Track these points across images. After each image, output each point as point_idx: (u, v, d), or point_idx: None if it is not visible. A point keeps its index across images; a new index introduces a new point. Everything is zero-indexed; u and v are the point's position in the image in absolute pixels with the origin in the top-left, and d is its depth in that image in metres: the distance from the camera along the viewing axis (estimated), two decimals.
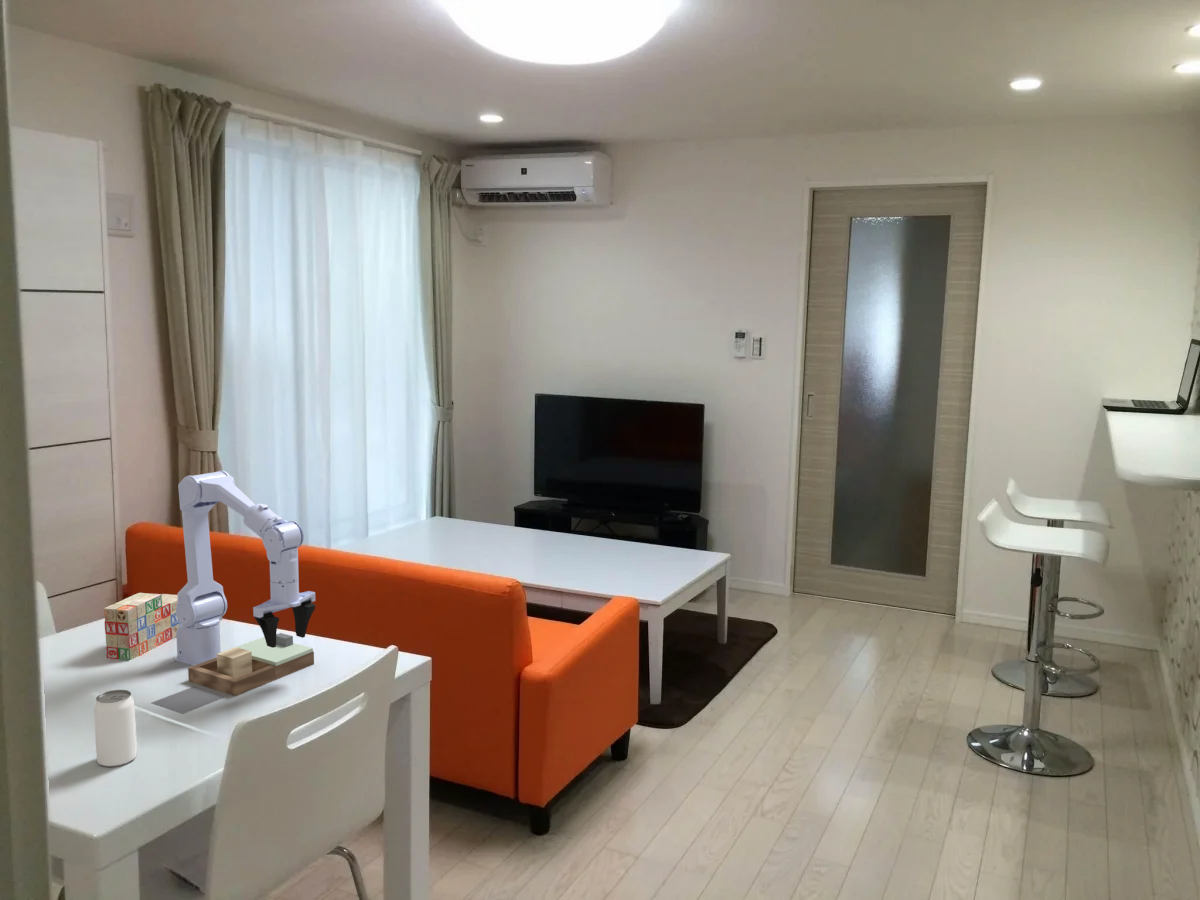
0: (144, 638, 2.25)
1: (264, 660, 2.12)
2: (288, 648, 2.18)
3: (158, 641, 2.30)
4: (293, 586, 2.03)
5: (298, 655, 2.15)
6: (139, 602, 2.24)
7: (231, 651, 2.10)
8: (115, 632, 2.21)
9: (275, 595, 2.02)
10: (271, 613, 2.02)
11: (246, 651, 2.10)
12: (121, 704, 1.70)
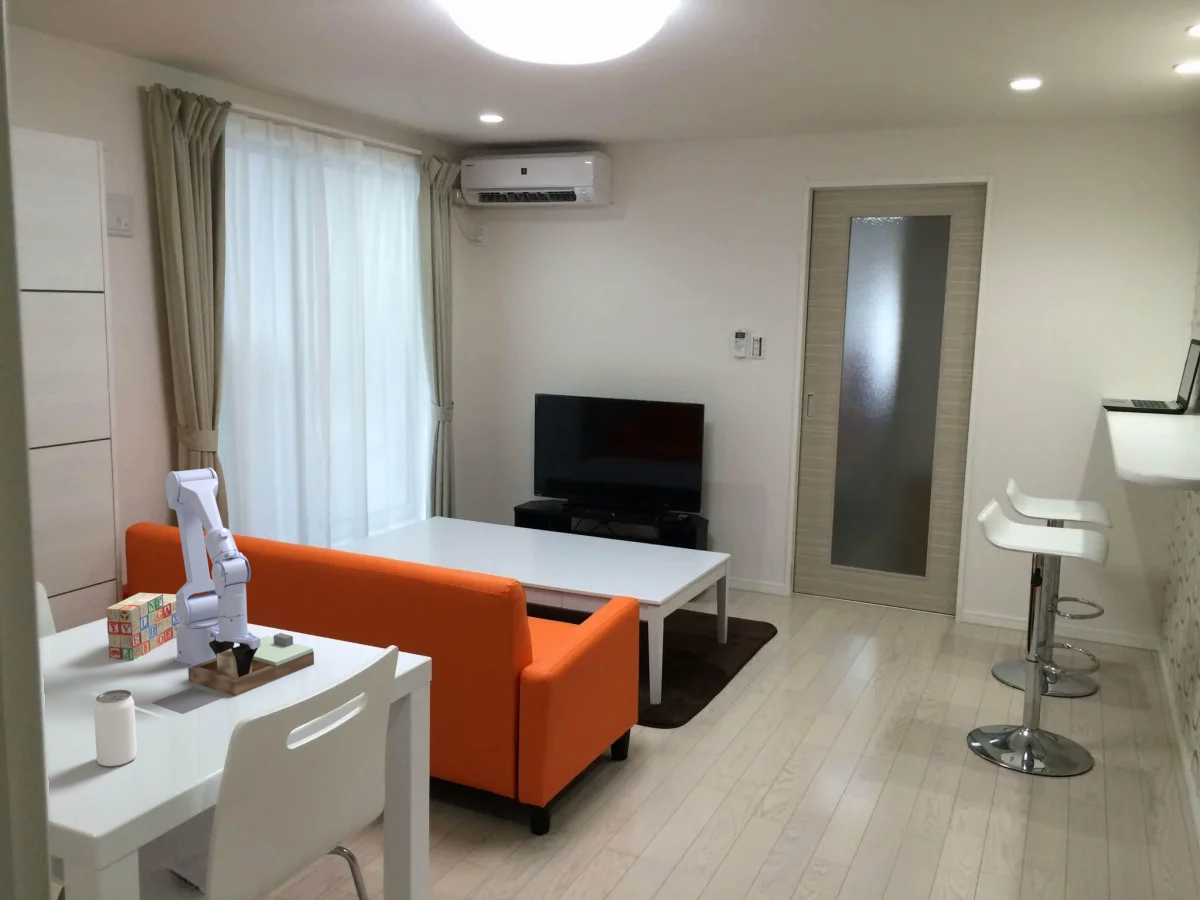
0: (147, 638, 2.26)
1: (264, 660, 2.12)
2: (288, 648, 2.18)
3: (160, 641, 2.31)
4: (221, 621, 2.05)
5: (298, 655, 2.15)
6: (141, 602, 2.24)
7: (231, 651, 2.10)
8: (118, 632, 2.21)
9: None
10: None
11: None
12: (121, 704, 1.70)
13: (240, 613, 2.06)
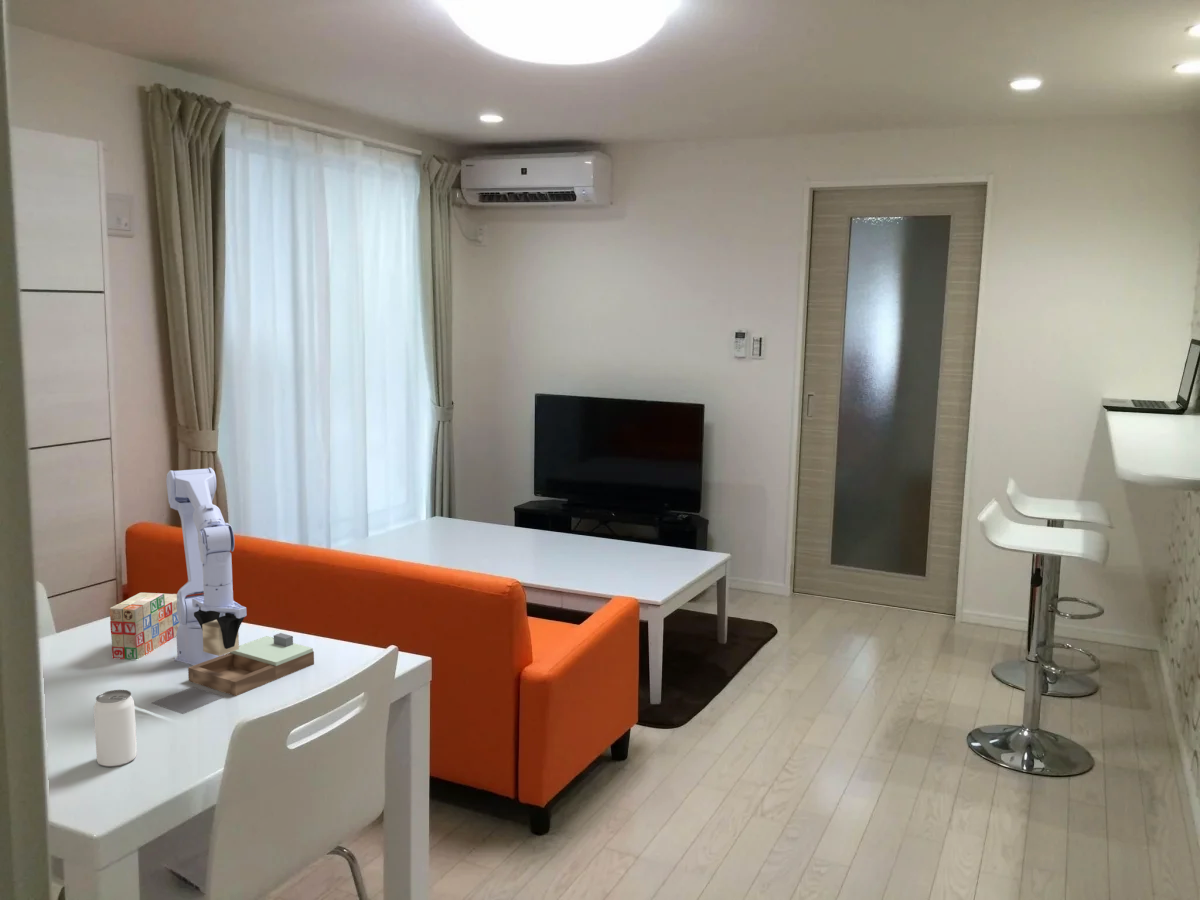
0: (149, 637, 2.26)
1: (264, 660, 2.12)
2: (288, 648, 2.18)
3: (161, 640, 2.31)
4: (206, 590, 2.01)
5: (298, 655, 2.15)
6: (144, 601, 2.25)
7: (217, 622, 2.05)
8: (121, 632, 2.21)
9: None
10: None
11: None
12: (121, 704, 1.70)
13: (223, 582, 2.01)
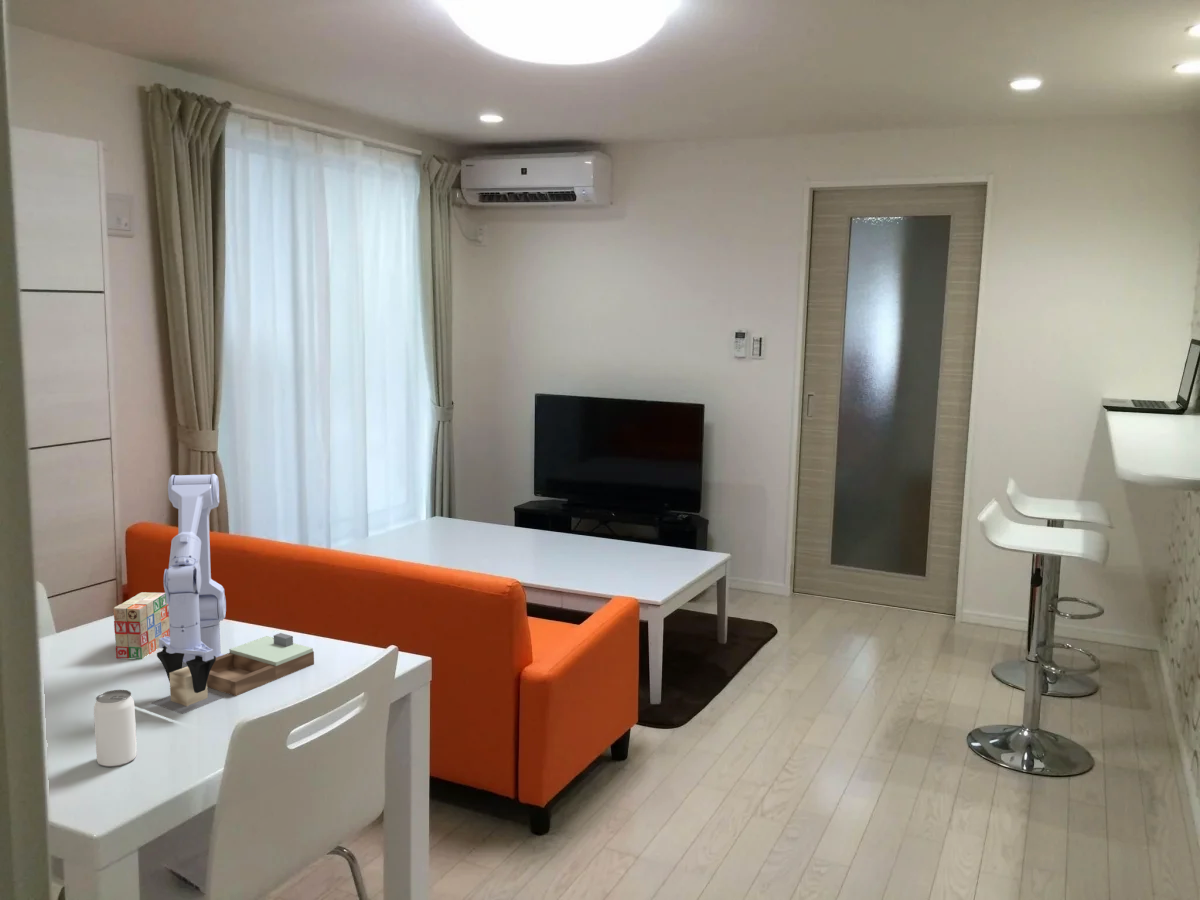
0: (153, 637, 2.26)
1: (264, 660, 2.12)
2: (288, 648, 2.18)
3: None
4: (172, 631, 1.94)
5: (298, 655, 2.15)
6: (147, 601, 2.25)
7: (185, 670, 1.99)
8: (125, 631, 2.21)
9: None
10: None
11: None
12: (121, 704, 1.70)
13: (185, 624, 1.94)
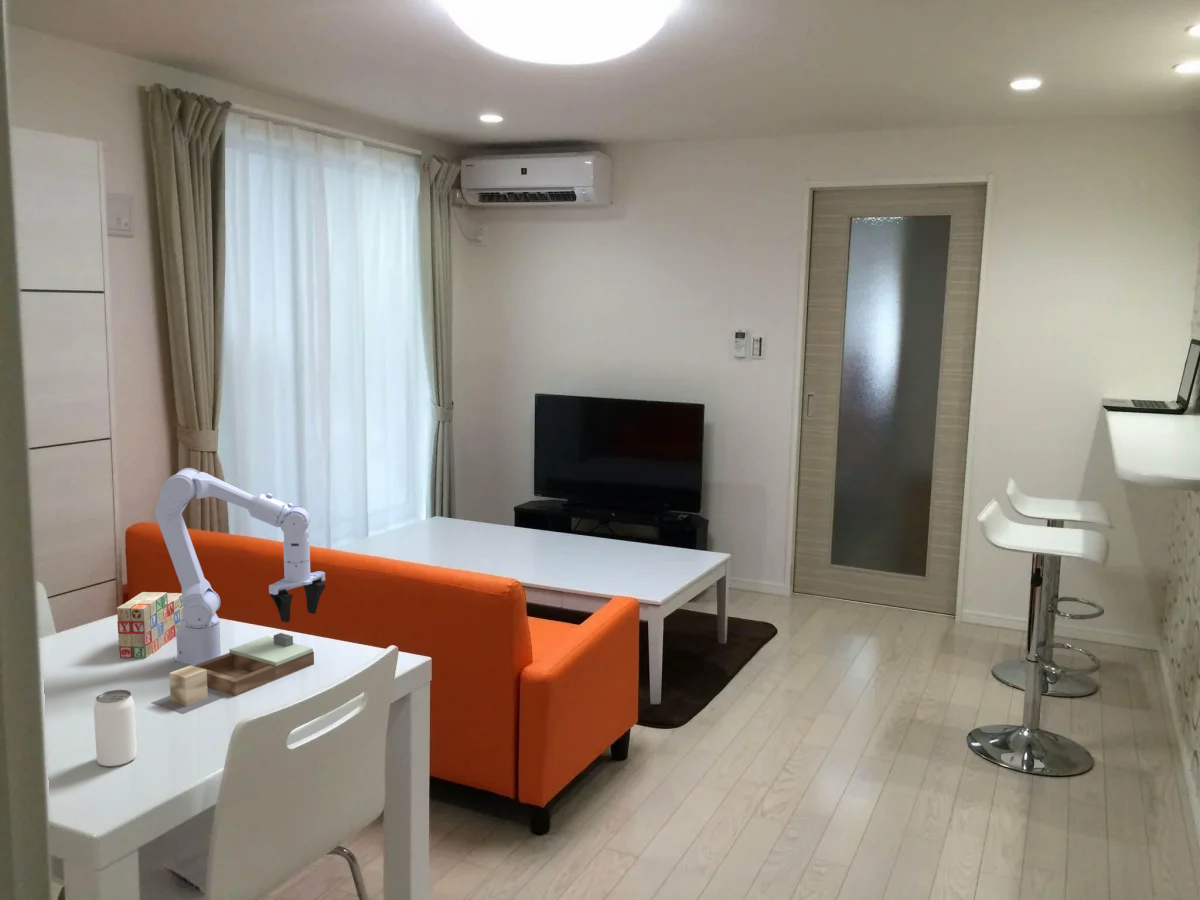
0: (156, 636, 2.27)
1: (264, 660, 2.12)
2: (288, 648, 2.18)
3: (165, 639, 2.32)
4: (305, 566, 2.21)
5: (298, 655, 2.15)
6: (150, 600, 2.26)
7: (185, 670, 1.99)
8: (129, 631, 2.21)
9: (289, 574, 2.20)
10: (285, 591, 2.19)
11: (201, 670, 1.99)
12: (121, 704, 1.70)
13: None
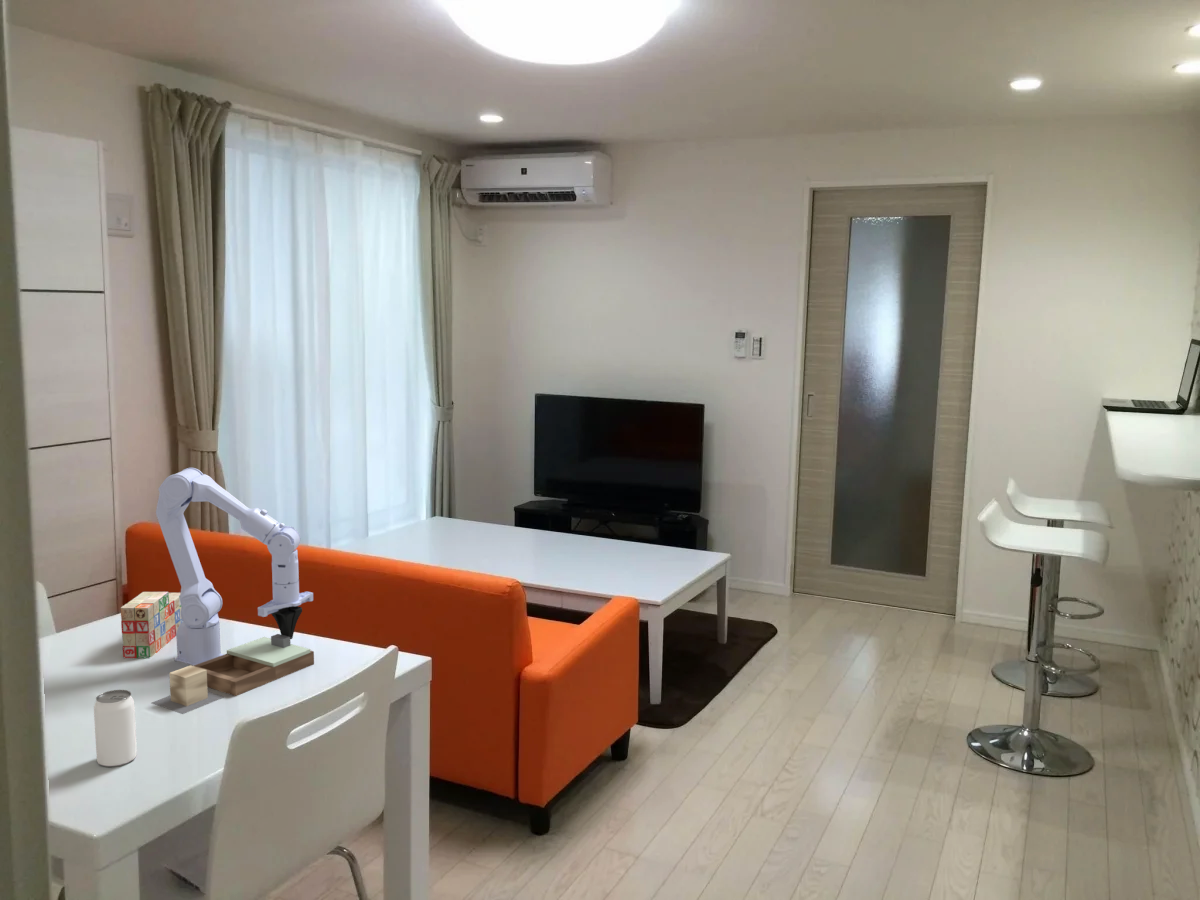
0: (159, 636, 2.27)
1: (261, 661, 2.11)
2: (285, 649, 2.18)
3: (167, 638, 2.33)
4: (294, 587, 2.19)
5: (295, 656, 2.14)
6: (153, 600, 2.26)
7: (185, 670, 1.99)
8: (133, 631, 2.22)
9: (278, 596, 2.17)
10: (286, 608, 2.20)
11: (201, 670, 1.99)
12: (121, 704, 1.70)
13: (298, 578, 2.20)
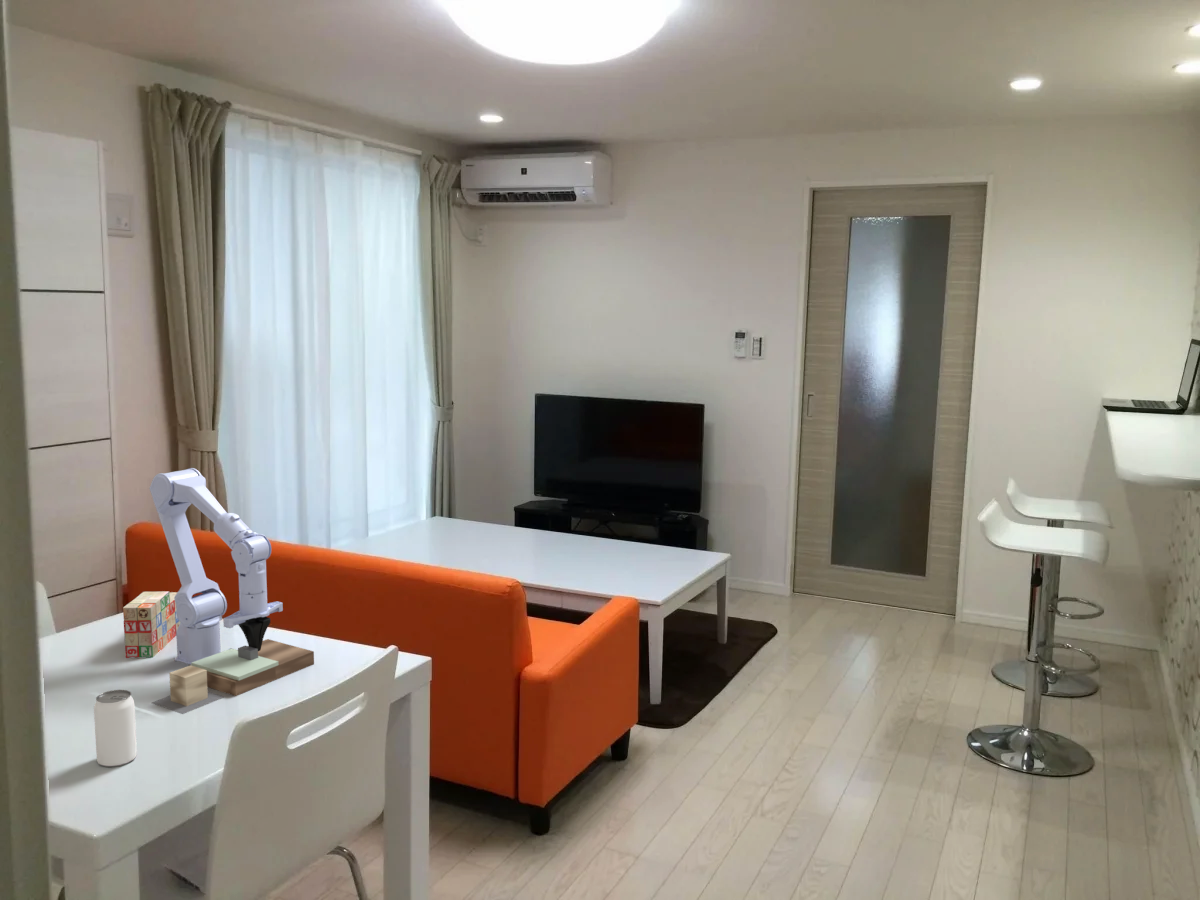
0: (161, 635, 2.28)
1: (226, 674, 2.03)
2: (252, 661, 2.10)
3: (168, 638, 2.33)
4: (262, 597, 2.11)
5: (262, 669, 2.07)
6: (155, 599, 2.26)
7: (185, 670, 1.99)
8: (135, 630, 2.22)
9: (244, 606, 2.10)
10: (254, 619, 2.12)
11: (201, 670, 1.99)
12: (121, 704, 1.70)
13: (264, 589, 2.11)
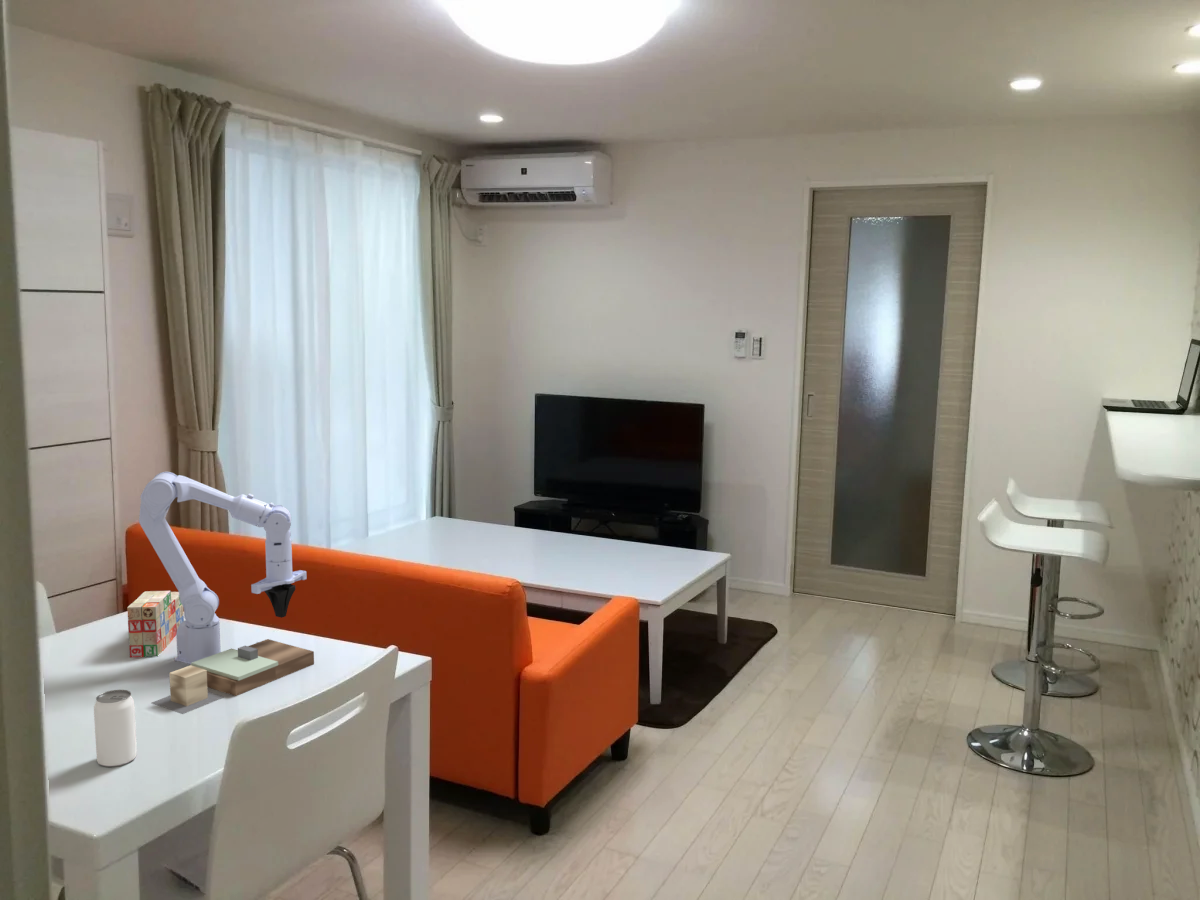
0: (164, 634, 2.28)
1: (226, 674, 2.03)
2: (252, 661, 2.10)
3: (170, 637, 2.33)
4: (287, 565, 2.21)
5: (262, 669, 2.07)
6: (158, 599, 2.27)
7: (185, 670, 1.99)
8: (140, 630, 2.22)
9: (271, 573, 2.20)
10: (280, 586, 2.23)
11: (201, 670, 1.99)
12: (121, 704, 1.70)
13: None
